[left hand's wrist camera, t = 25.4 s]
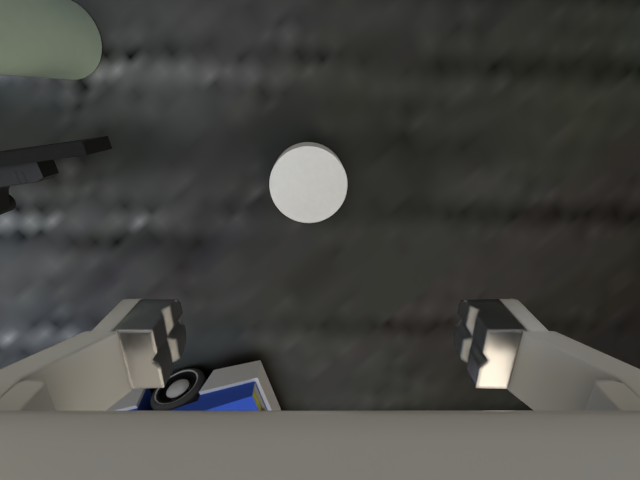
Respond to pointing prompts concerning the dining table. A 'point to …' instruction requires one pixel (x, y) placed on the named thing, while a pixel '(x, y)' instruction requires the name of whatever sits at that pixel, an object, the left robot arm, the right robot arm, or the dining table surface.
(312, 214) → the lid
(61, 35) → the jar
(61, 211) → the dining table surface
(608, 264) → the dining table surface
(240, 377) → the toy car
